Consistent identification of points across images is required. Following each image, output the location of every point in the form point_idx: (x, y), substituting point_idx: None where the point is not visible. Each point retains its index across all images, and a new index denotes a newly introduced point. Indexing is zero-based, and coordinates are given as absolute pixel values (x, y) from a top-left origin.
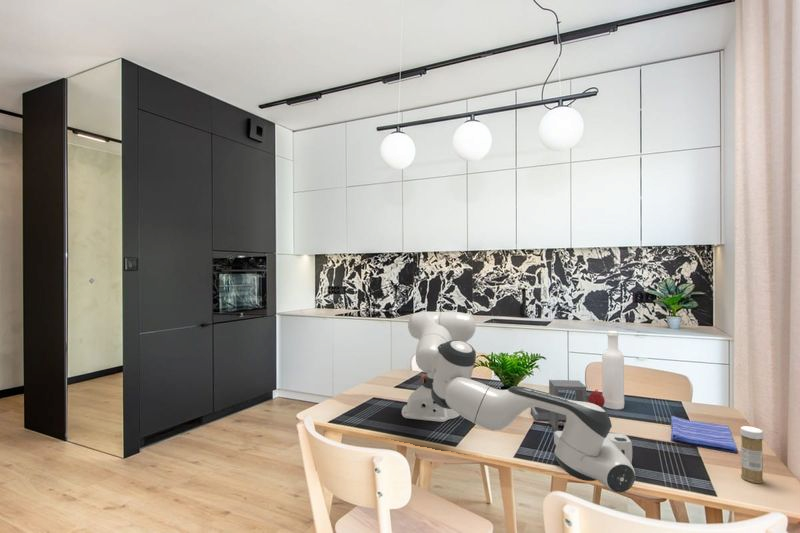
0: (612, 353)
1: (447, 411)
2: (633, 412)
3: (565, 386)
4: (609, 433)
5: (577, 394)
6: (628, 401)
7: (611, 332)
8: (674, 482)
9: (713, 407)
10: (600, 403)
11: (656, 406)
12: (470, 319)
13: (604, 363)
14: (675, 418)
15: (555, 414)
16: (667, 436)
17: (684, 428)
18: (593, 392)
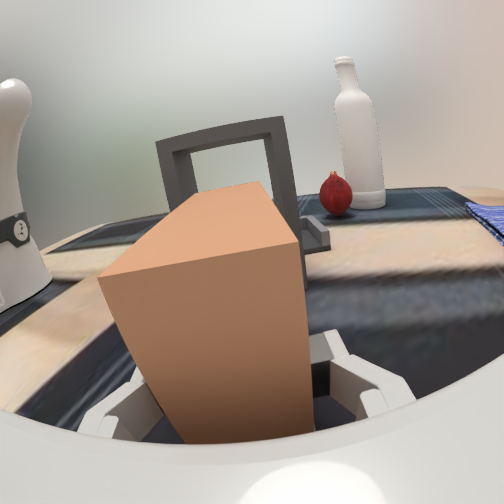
0: (351, 94)
1: (2, 291)
2: (404, 208)
3: (198, 131)
4: (475, 395)
5: (270, 167)
6: (386, 195)
7: (340, 57)
8: None
9: (480, 188)
10: (345, 199)
11: (427, 195)
12: (5, 83)
13: (340, 118)
14: (474, 205)
15: None
16: (498, 247)
17: (500, 221)
18: (328, 178)
